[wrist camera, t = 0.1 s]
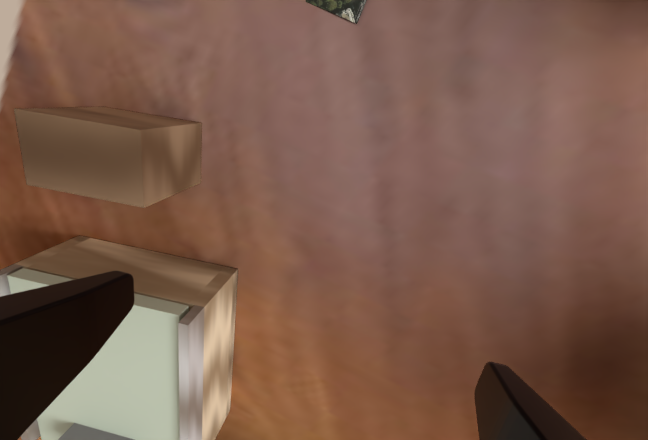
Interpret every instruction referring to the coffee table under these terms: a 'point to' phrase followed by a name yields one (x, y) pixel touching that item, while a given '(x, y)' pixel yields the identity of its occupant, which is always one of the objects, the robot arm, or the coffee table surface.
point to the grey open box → (193, 330)
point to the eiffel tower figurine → (342, 7)
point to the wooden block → (109, 153)
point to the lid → (119, 376)
